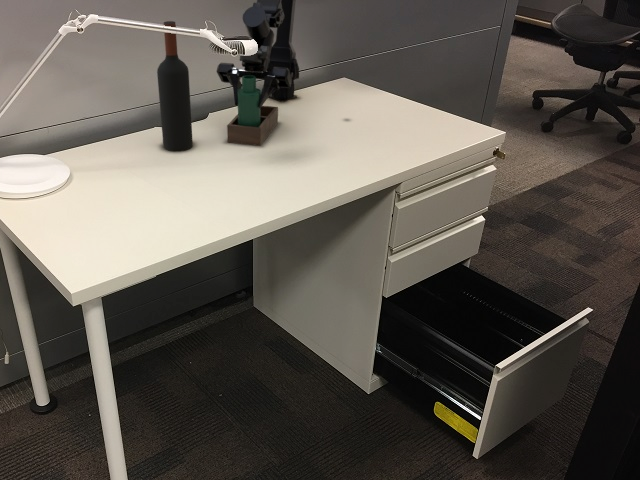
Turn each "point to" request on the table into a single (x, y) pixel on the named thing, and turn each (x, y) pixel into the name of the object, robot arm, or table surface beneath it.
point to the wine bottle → (174, 97)
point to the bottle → (249, 103)
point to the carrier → (253, 128)
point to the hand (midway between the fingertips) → (247, 106)
